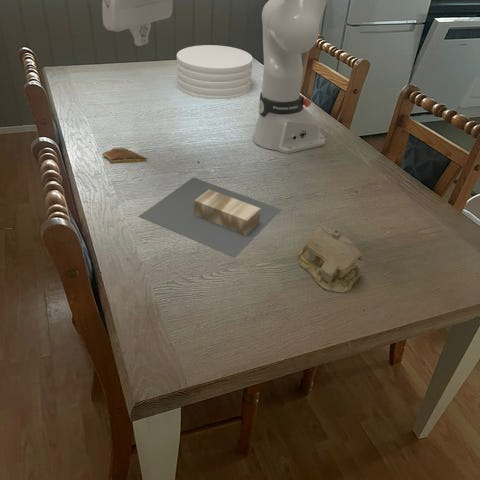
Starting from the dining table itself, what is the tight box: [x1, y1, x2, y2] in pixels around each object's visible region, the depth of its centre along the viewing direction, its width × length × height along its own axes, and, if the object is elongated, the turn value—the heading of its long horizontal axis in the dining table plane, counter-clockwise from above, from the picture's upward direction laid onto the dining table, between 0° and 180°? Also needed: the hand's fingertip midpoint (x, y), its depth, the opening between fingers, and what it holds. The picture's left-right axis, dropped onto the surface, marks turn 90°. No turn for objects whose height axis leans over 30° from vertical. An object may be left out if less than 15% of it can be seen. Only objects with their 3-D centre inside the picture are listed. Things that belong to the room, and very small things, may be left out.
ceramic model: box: [297, 226, 364, 293], centre depth 94 cm, size 14×11×10 cm
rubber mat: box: [137, 177, 282, 258], centre depth 110 cm, size 26×22×1 cm
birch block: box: [194, 189, 261, 235], centre depth 107 cm, size 4×6×14 cm
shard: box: [102, 146, 148, 164], centre depth 128 cm, size 11×8×2 cm
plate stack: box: [176, 44, 253, 100], centre depth 175 cm, size 28×28×12 cm
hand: (141, 44), depth 109 cm, fingers closed
